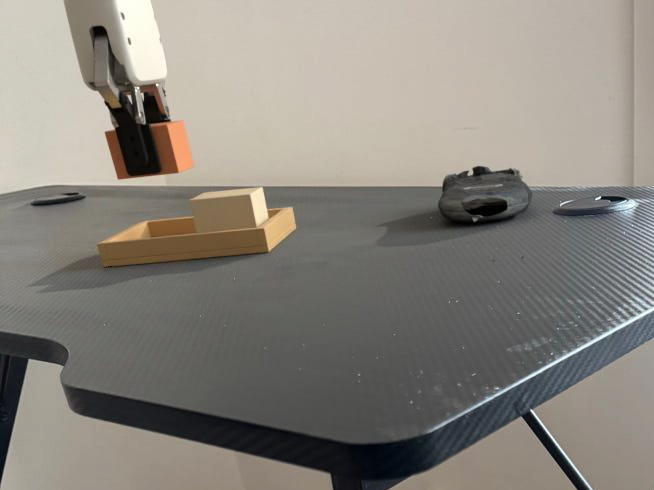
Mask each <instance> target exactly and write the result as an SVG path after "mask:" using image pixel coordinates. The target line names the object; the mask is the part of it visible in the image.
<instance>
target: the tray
mask: <svg viewBox="0 0 654 490" xmlns="http://www.w3.org/2000/svg"><path fill="white" fill-rule="evenodd" d="M267 212H268V217H269V220H268V221H266V222H265V223H264V224H262V225H261V226H259V227H258V228H246V229H235V230H225V231H214V232H204V233H197V232H196V228H195V223H194V219H193V215H192V216H183V217H175V218H174V217H172V218H162V219H153V220H144V221H141V222H139V223H136V224H134V225H132V226H130V227H128V228H126V229H125V230H122V231H119V232H118V233H116V234H114V235H112V236H110V237H108V238H106V239H104V240H102V241H100V242H98V243H96V247H97V250H98V252H99V256H100V260H101V263H102V267H103V268H111V267H110V266H112V267H123V266H133V265H144V264H155V263H166V262H176V261H186V260H187V261H188V260H198V259H208V258H209V259H210V258H219V257H220V258H221V257H230V256H231V257H233V256H240V255H241V256H242V255H252V254H262V253H263V254H264V253H270V252H271V251H272V250H273V249H274V248H276V246H278V245H279V244H280V243H281V242H282V241H284V240H285V239H286V238H287V237H288V236H289V235H291V234H292V233H293V232H294V231H295V230H296V229H297V224H296V219H295V214H294V209H293V206H288V207H277V208H267ZM108 266H109V267H108Z"/></svg>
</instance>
